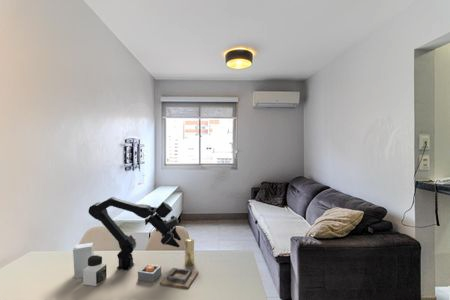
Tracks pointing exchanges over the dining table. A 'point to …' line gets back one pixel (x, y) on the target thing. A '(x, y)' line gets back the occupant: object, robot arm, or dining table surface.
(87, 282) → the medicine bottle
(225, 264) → the dining table surface
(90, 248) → the skincare box
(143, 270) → the button housing
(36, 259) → the dining table surface
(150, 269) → the button
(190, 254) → the brass billet
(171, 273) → the brown board with frame
